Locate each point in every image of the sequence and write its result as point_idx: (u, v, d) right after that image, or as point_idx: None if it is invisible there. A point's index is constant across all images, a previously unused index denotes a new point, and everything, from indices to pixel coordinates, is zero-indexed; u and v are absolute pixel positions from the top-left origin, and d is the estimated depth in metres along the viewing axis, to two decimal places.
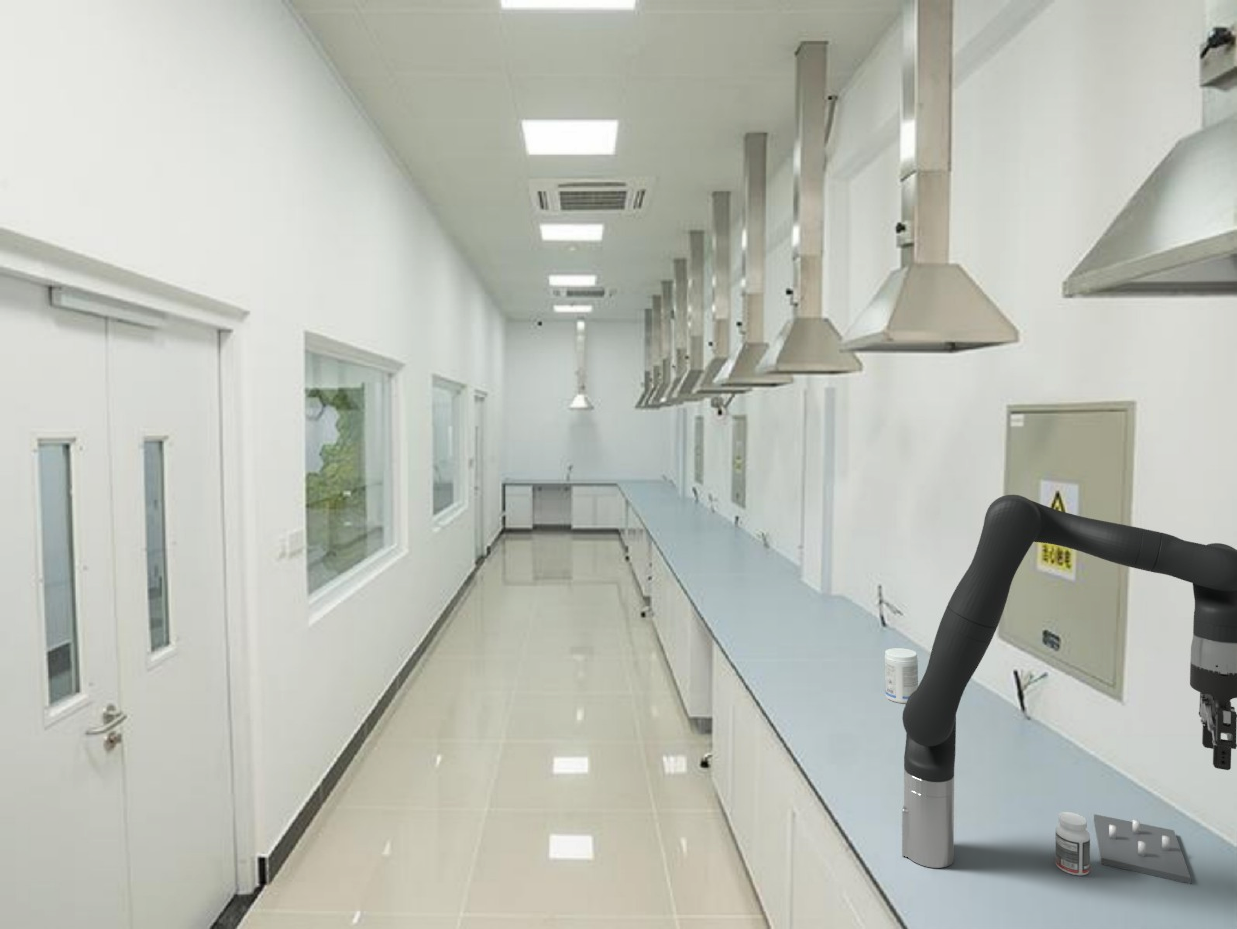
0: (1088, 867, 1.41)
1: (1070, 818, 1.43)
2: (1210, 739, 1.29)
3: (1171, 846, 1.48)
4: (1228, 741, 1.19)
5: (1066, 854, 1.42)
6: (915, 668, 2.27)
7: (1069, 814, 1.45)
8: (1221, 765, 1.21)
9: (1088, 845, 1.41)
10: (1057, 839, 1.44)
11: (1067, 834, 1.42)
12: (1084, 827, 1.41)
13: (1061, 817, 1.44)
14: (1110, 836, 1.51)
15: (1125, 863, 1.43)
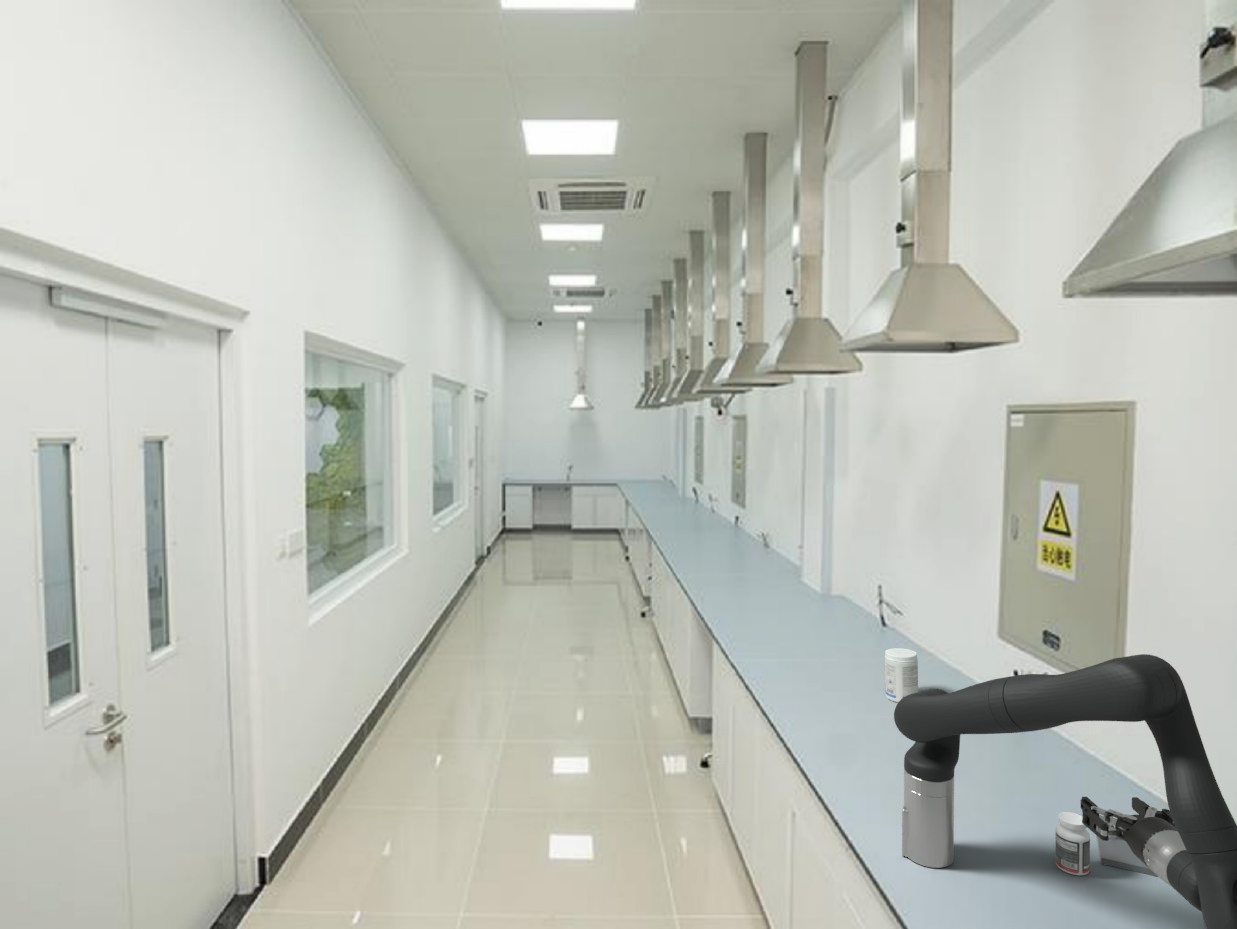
0: (1088, 867, 1.41)
1: (1070, 818, 1.43)
2: (1137, 806, 1.30)
3: None
4: (1086, 819, 1.26)
5: (1066, 854, 1.42)
6: (915, 668, 2.27)
7: (1069, 814, 1.45)
8: None
9: (1088, 845, 1.41)
10: (1057, 839, 1.44)
11: (1067, 834, 1.42)
12: (1084, 827, 1.41)
13: (1061, 817, 1.44)
14: (1110, 836, 1.51)
15: (1125, 863, 1.43)
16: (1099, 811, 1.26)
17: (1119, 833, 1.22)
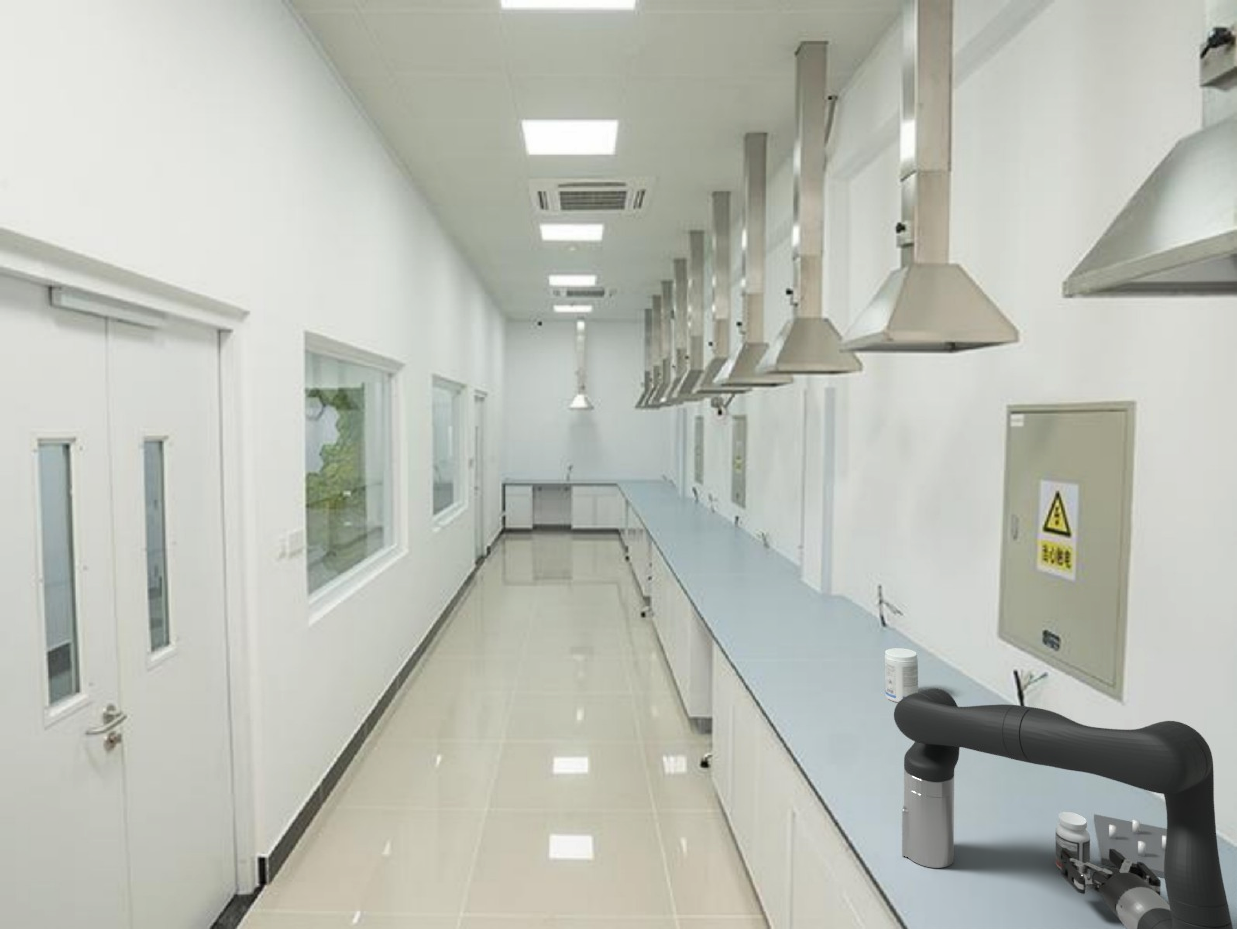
0: None
1: (1070, 818, 1.43)
2: (1114, 857, 1.37)
3: None
4: (1065, 871, 1.33)
5: None
6: (915, 668, 2.27)
7: (1069, 814, 1.45)
8: (1060, 853, 1.38)
9: (1088, 845, 1.41)
10: (1057, 839, 1.44)
11: (1067, 834, 1.42)
12: (1084, 827, 1.41)
13: (1061, 817, 1.44)
14: (1110, 836, 1.51)
15: None
16: (1077, 863, 1.33)
17: (1095, 886, 1.29)
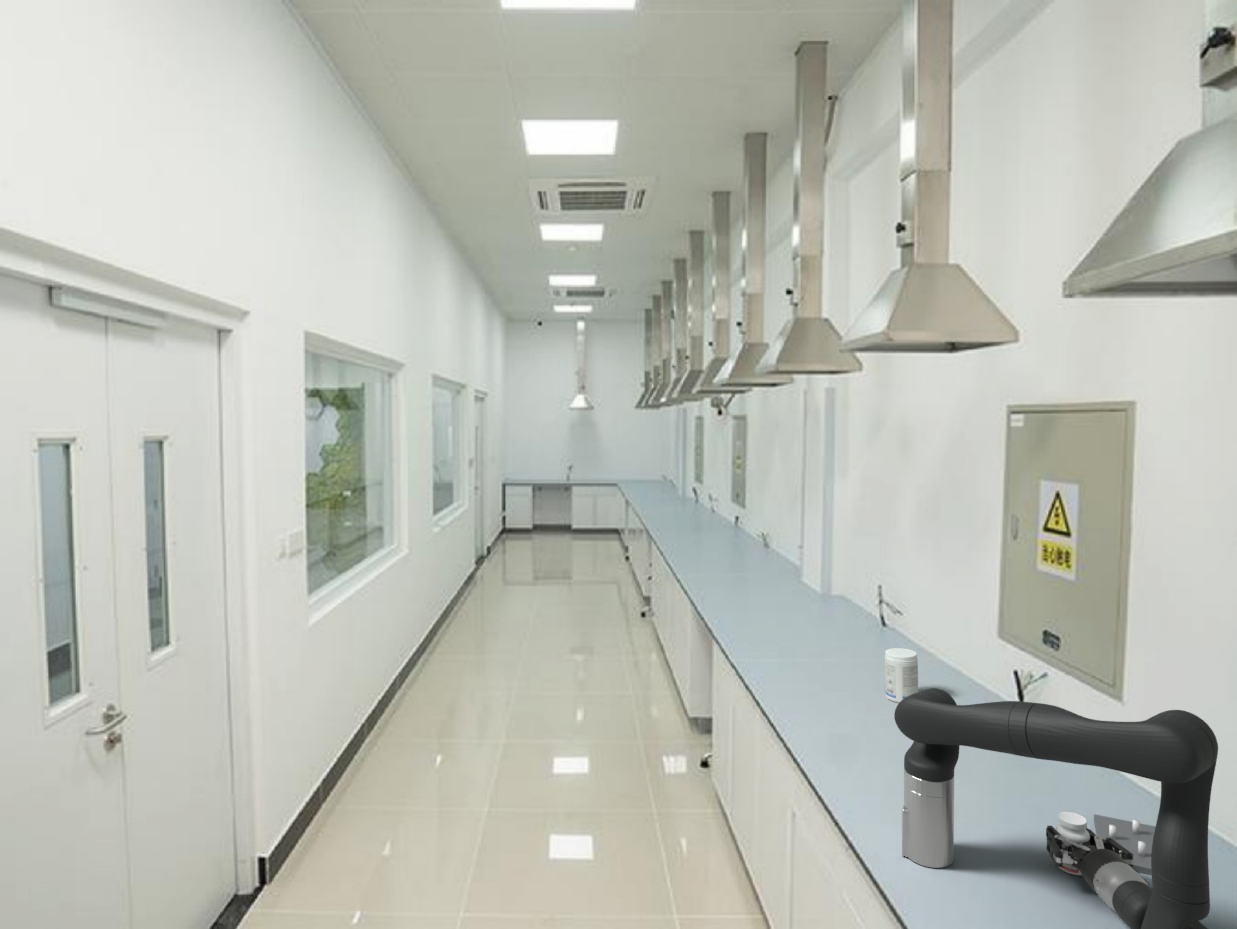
0: None
1: (1070, 818, 1.43)
2: None
3: None
4: (1050, 847, 1.41)
5: None
6: (915, 668, 2.27)
7: (1069, 814, 1.45)
8: (1046, 830, 1.45)
9: None
10: None
11: (1067, 834, 1.42)
12: (1084, 827, 1.41)
13: (1061, 817, 1.44)
14: (1110, 836, 1.51)
15: None
16: (1061, 840, 1.41)
17: (1072, 862, 1.36)
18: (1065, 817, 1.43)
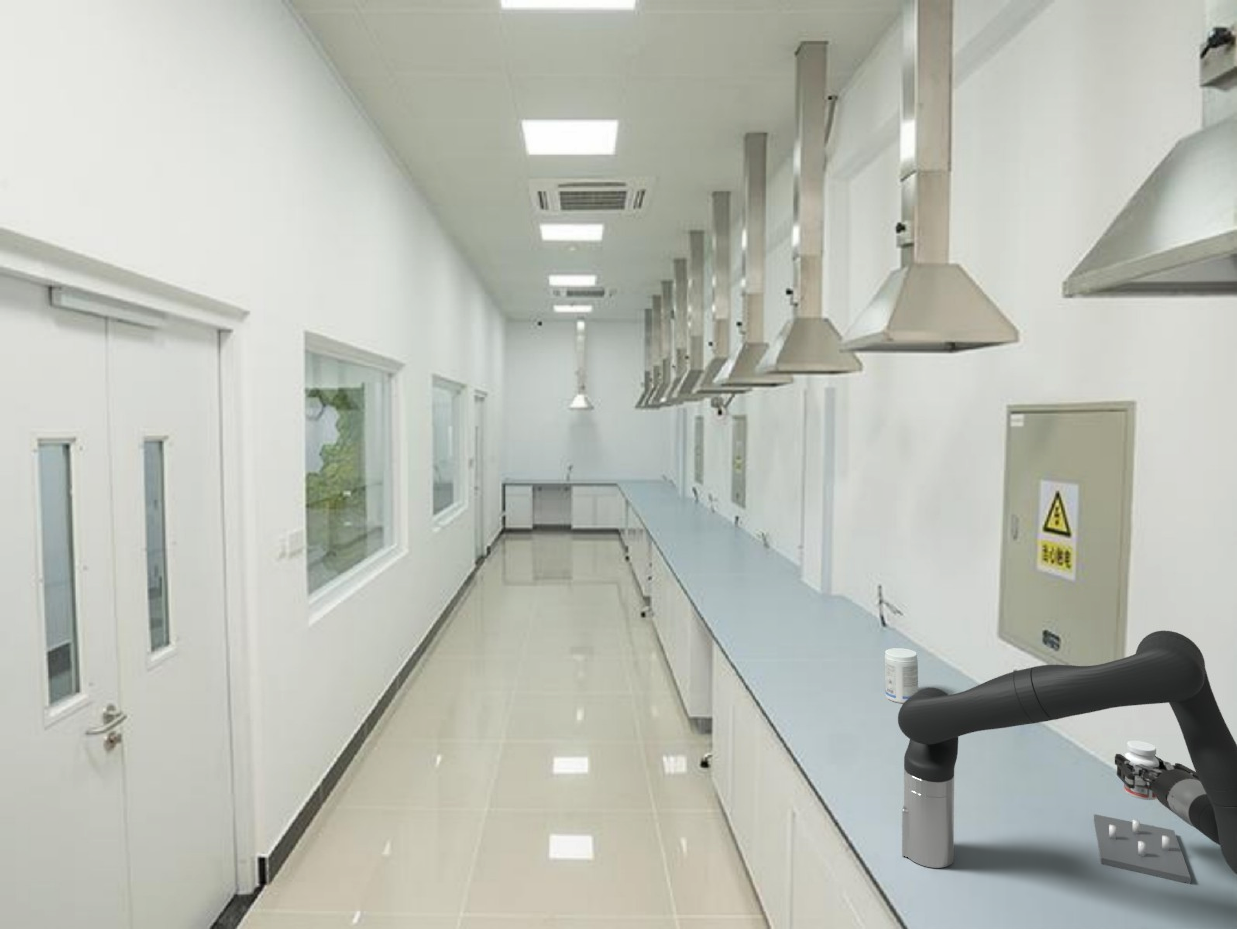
0: None
1: (1139, 745, 1.47)
2: None
3: (1171, 846, 1.48)
4: (1120, 772, 1.45)
5: None
6: (915, 668, 2.27)
7: (1138, 742, 1.49)
8: None
9: None
10: None
11: (1137, 760, 1.46)
12: (1154, 753, 1.46)
13: (1130, 744, 1.48)
14: (1110, 836, 1.51)
15: (1125, 863, 1.43)
16: (1132, 765, 1.45)
17: (1145, 783, 1.40)
18: (1134, 745, 1.48)
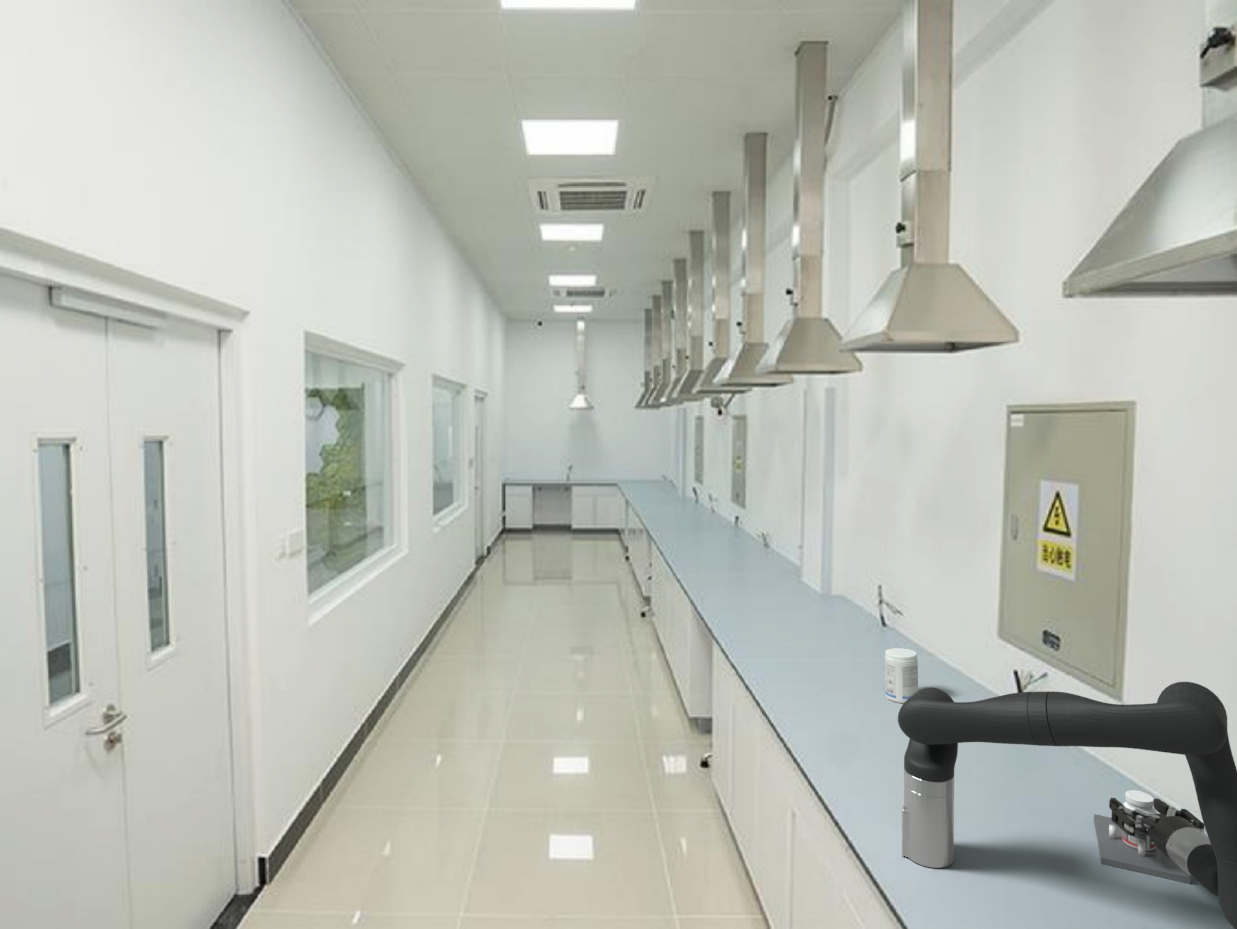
0: None
1: (1137, 796, 1.48)
2: (1158, 806, 1.49)
3: None
4: (1115, 817, 1.46)
5: None
6: (915, 668, 2.27)
7: (1136, 792, 1.50)
8: (1109, 802, 1.50)
9: None
10: None
11: None
12: (1151, 804, 1.47)
13: (1128, 795, 1.49)
14: (1110, 836, 1.51)
15: (1125, 863, 1.43)
16: (1126, 810, 1.46)
17: (1144, 829, 1.41)
18: (1132, 795, 1.49)
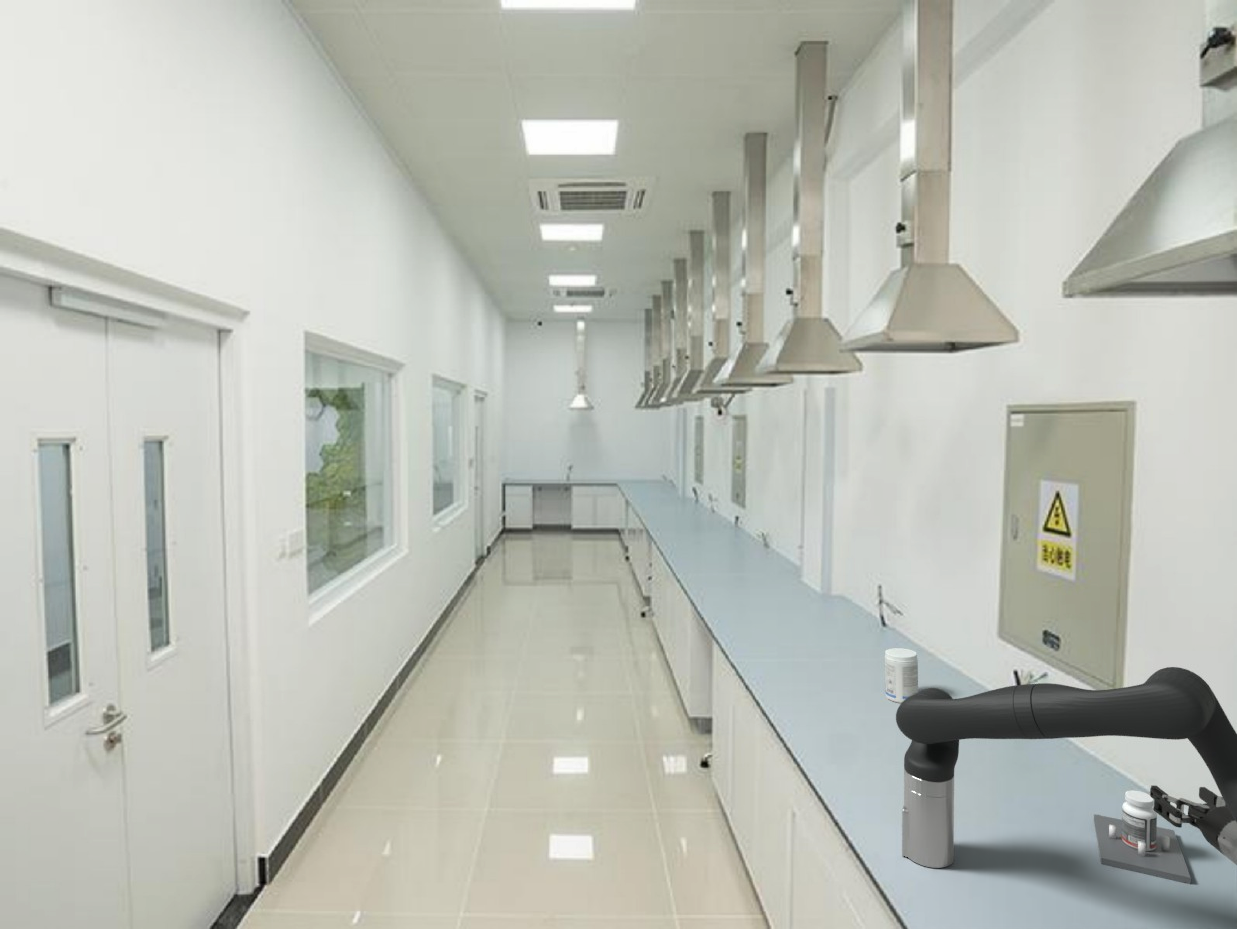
0: (1155, 843, 1.47)
1: (1137, 796, 1.48)
2: (1205, 795, 1.36)
3: (1171, 846, 1.48)
4: (1158, 807, 1.32)
5: (1134, 830, 1.47)
6: (915, 668, 2.27)
7: (1135, 792, 1.50)
8: (1150, 791, 1.37)
9: (1155, 822, 1.46)
10: (1124, 816, 1.49)
11: (1135, 811, 1.47)
12: (1151, 804, 1.47)
13: (1128, 795, 1.49)
14: (1110, 836, 1.51)
15: (1125, 863, 1.43)
16: (1171, 799, 1.32)
17: (1192, 821, 1.28)
18: (1132, 795, 1.49)
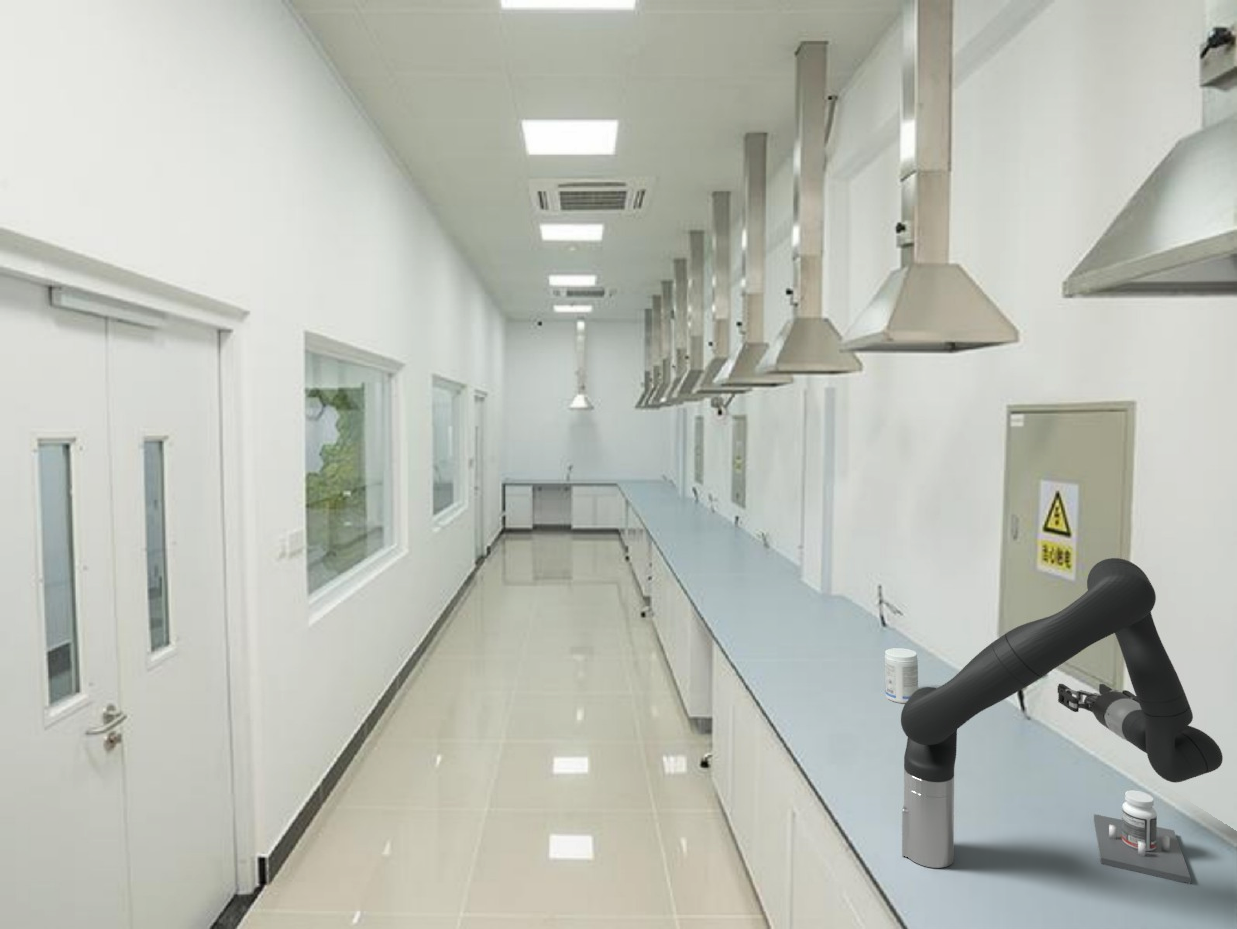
0: (1155, 843, 1.47)
1: (1137, 796, 1.48)
2: (1103, 690, 1.60)
3: (1171, 846, 1.48)
4: (1061, 698, 1.57)
5: (1133, 830, 1.47)
6: (915, 668, 2.27)
7: (1135, 792, 1.50)
8: None
9: (1155, 822, 1.47)
10: (1124, 816, 1.49)
11: (1134, 811, 1.47)
12: (1151, 804, 1.47)
13: (1128, 795, 1.49)
14: (1110, 836, 1.51)
15: (1125, 863, 1.43)
16: (1072, 692, 1.57)
17: (1087, 706, 1.52)
18: (1132, 795, 1.49)
